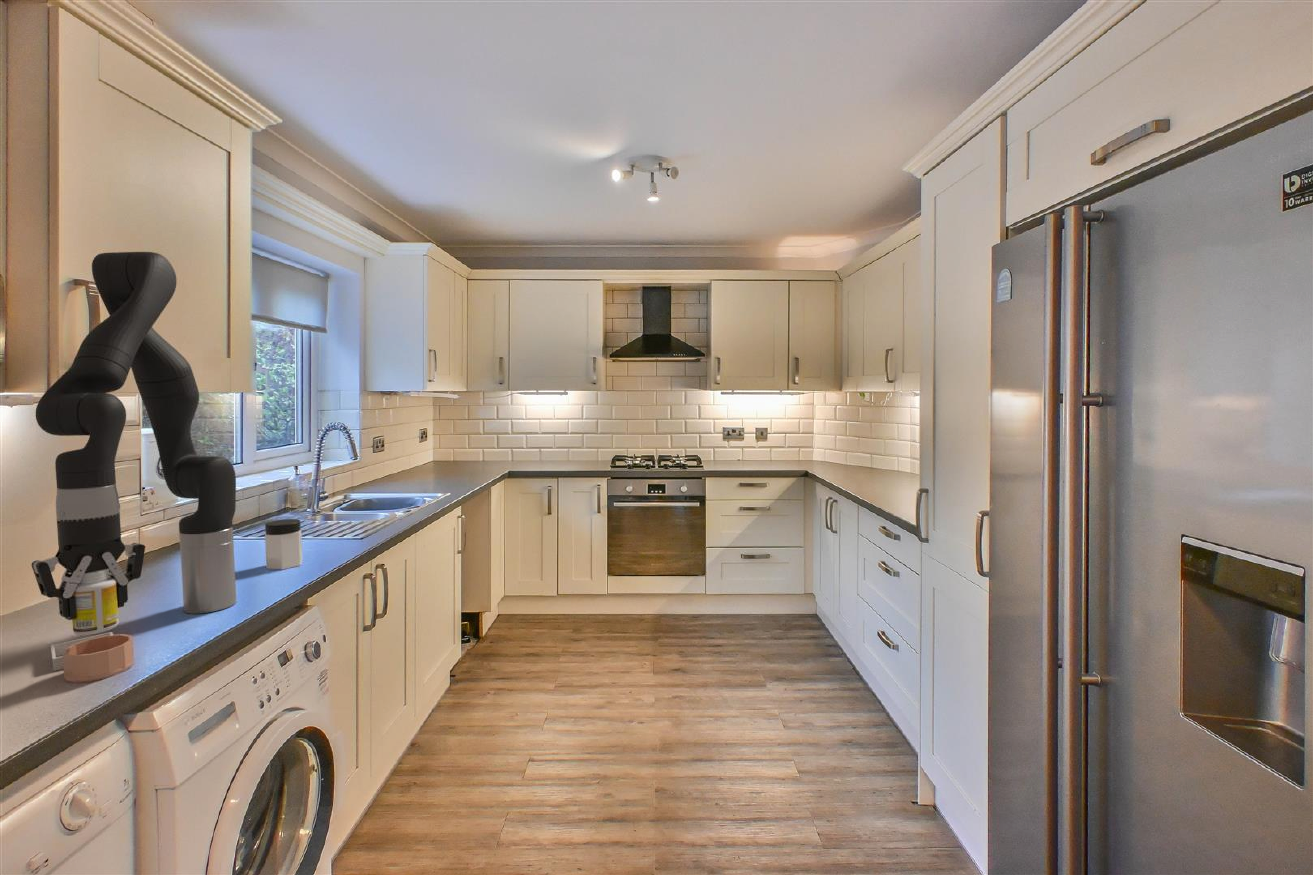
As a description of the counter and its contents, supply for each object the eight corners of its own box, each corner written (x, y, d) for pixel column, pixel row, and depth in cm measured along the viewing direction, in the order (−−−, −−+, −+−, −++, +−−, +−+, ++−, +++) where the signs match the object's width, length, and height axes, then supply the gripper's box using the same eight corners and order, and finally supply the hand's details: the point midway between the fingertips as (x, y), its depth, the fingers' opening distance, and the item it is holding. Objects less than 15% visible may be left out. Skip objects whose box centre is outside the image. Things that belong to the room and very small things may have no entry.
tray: (51, 656, 104) (50, 645, 103) (112, 642, 109) (112, 631, 109) (53, 671, 98) (52, 659, 98) (117, 655, 104) (117, 644, 104)
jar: (295, 559, 165) (293, 517, 164) (309, 563, 161) (307, 521, 160) (259, 566, 158) (257, 523, 157) (273, 571, 153) (271, 527, 152)
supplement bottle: (116, 620, 102) (113, 563, 101) (121, 629, 98) (117, 569, 98) (71, 630, 98) (67, 570, 97) (74, 639, 94) (70, 577, 93)
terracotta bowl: (88, 661, 102) (86, 636, 101) (145, 656, 104) (143, 632, 103) (50, 685, 93) (48, 658, 93) (113, 679, 95) (111, 652, 95)
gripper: (131, 504, 105) (137, 596, 106) (17, 519, 92) (25, 623, 93) (153, 507, 101) (158, 602, 102) (37, 523, 88) (45, 631, 90)
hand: (95, 612), depth 98 cm, fingers closed on supplement bottle, 5 cm apart
